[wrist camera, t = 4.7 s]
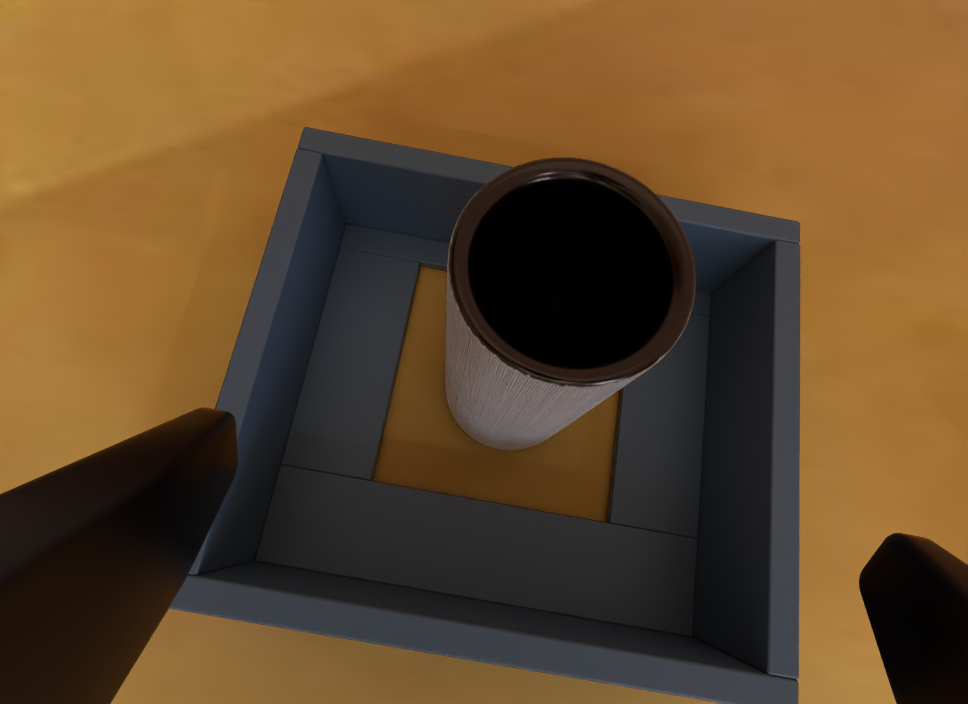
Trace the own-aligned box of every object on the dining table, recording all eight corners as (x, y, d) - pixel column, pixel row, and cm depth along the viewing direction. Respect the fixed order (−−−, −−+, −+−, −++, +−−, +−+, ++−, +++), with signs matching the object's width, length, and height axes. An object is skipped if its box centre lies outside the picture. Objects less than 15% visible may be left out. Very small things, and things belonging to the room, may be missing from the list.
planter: (547, 313, 21) (644, 131, 11) (588, 430, 20) (739, 346, 10) (429, 345, 20) (417, 182, 10) (465, 468, 19) (491, 420, 9)
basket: (710, 666, 18) (799, 717, 13) (225, 582, 17) (151, 606, 13) (727, 280, 22) (801, 221, 17) (332, 205, 21) (303, 125, 17)
